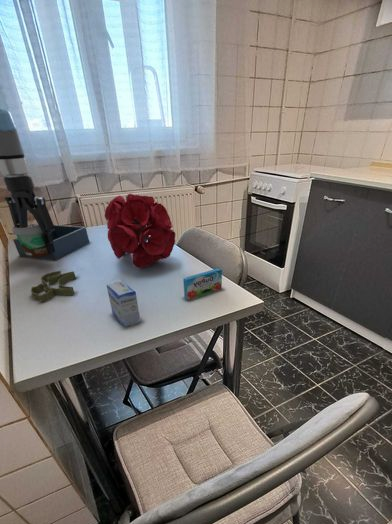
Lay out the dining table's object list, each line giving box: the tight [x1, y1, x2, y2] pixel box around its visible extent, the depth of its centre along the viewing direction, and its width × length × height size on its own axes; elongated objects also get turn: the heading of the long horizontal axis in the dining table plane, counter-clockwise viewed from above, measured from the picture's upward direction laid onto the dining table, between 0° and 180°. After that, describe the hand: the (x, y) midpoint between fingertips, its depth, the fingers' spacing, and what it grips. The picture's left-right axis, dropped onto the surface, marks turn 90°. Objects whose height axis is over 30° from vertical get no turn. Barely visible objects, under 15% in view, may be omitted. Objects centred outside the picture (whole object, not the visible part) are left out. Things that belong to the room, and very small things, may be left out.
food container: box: [12, 223, 54, 259], centre depth 99 cm, size 12×6×10 cm, turn 138°
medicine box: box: [106, 280, 141, 328], centre depth 73 cm, size 8×4×9 cm, turn 35°
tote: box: [12, 224, 90, 261], centre depth 120 cm, size 18×22×7 cm
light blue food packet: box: [182, 267, 223, 301], centre depth 83 cm, size 12×2×6 cm, turn 123°
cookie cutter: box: [30, 270, 77, 303], centre depth 91 cm, size 18×12×2 cm, turn 15°
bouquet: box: [104, 193, 176, 269], centre depth 101 cm, size 22×24×30 cm
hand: (42, 251), depth 102 cm, fingers closed on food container, 7 cm apart
